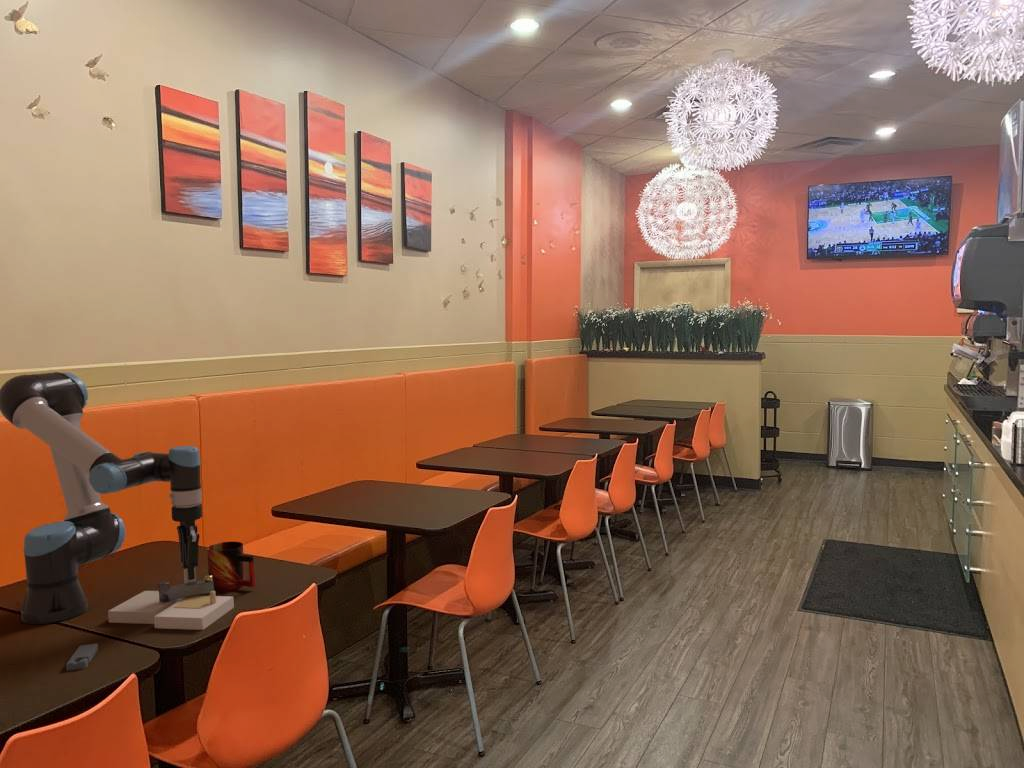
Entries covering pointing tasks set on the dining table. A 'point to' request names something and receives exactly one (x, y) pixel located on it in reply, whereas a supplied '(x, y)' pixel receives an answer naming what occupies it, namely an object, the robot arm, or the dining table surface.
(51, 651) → the dining table surface
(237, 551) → the mug
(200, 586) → the bar
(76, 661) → the bracket
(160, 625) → the door slab
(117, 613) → the block
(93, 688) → the dining table surface
